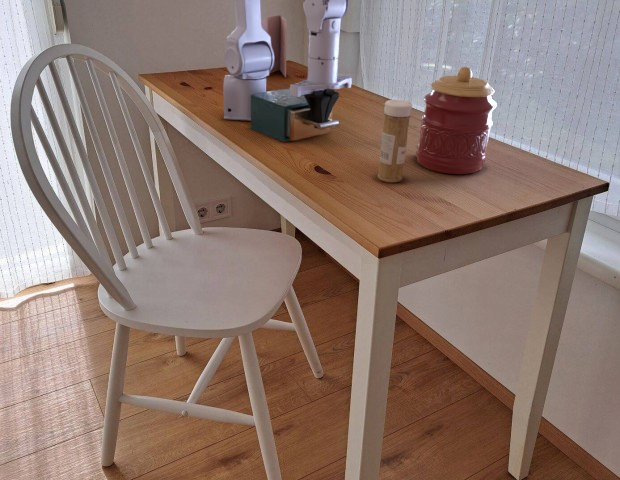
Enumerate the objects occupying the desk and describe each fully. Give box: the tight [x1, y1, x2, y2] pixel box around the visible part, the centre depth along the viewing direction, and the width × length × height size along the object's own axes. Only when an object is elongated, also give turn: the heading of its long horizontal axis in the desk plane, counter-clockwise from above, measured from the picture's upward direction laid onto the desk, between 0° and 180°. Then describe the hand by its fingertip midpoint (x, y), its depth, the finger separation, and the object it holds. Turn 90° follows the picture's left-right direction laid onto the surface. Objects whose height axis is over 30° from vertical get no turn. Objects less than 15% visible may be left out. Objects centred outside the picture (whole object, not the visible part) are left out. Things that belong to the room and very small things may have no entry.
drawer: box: [286, 105, 340, 142], centre depth 122 cm, size 15×10×6 cm
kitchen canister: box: [416, 66, 497, 175], centre depth 109 cm, size 13×13×18 cm
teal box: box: [250, 87, 308, 143], centre depth 125 cm, size 11×12×7 cm
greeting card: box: [261, 14, 288, 78], centre depth 170 cm, size 11×7×15 cm, turn 157°
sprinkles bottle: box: [377, 99, 413, 184], centre depth 102 cm, size 5×5×13 cm
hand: (319, 128), depth 120 cm, fingers closed, pressing on drawer
